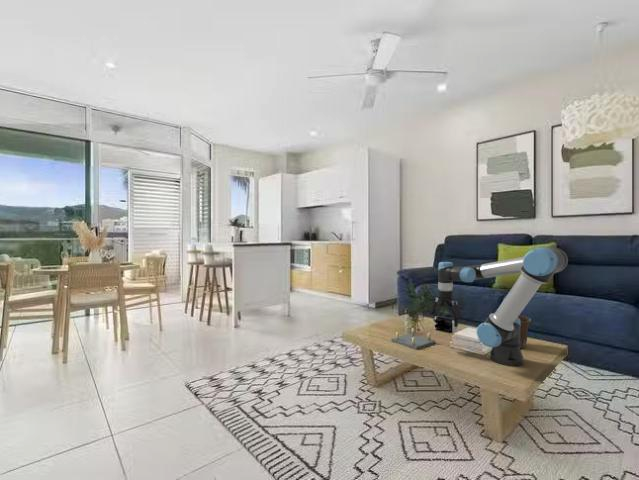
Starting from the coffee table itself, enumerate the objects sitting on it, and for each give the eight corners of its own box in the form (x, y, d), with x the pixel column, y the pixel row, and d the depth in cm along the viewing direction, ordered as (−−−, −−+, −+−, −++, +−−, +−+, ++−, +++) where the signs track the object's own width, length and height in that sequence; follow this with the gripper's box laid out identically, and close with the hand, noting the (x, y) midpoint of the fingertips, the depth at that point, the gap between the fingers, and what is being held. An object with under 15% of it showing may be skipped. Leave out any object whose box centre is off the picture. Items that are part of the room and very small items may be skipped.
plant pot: (523, 352, 182) (524, 323, 181) (493, 344, 194) (493, 317, 194) (534, 346, 192) (535, 318, 191) (504, 338, 204) (505, 312, 204)
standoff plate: (435, 343, 196) (435, 334, 196) (416, 349, 185) (416, 339, 185) (410, 335, 211) (410, 326, 210) (391, 341, 200) (391, 332, 200)
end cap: (457, 331, 183) (457, 318, 183) (451, 333, 178) (451, 321, 178) (439, 327, 190) (440, 315, 190) (433, 330, 185) (433, 317, 185)
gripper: (468, 292, 177) (468, 333, 177) (431, 286, 195) (431, 324, 195) (461, 293, 172) (460, 336, 173) (423, 288, 190) (423, 326, 191)
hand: (445, 329), depth 184 cm, fingers closed on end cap, 10 cm apart
